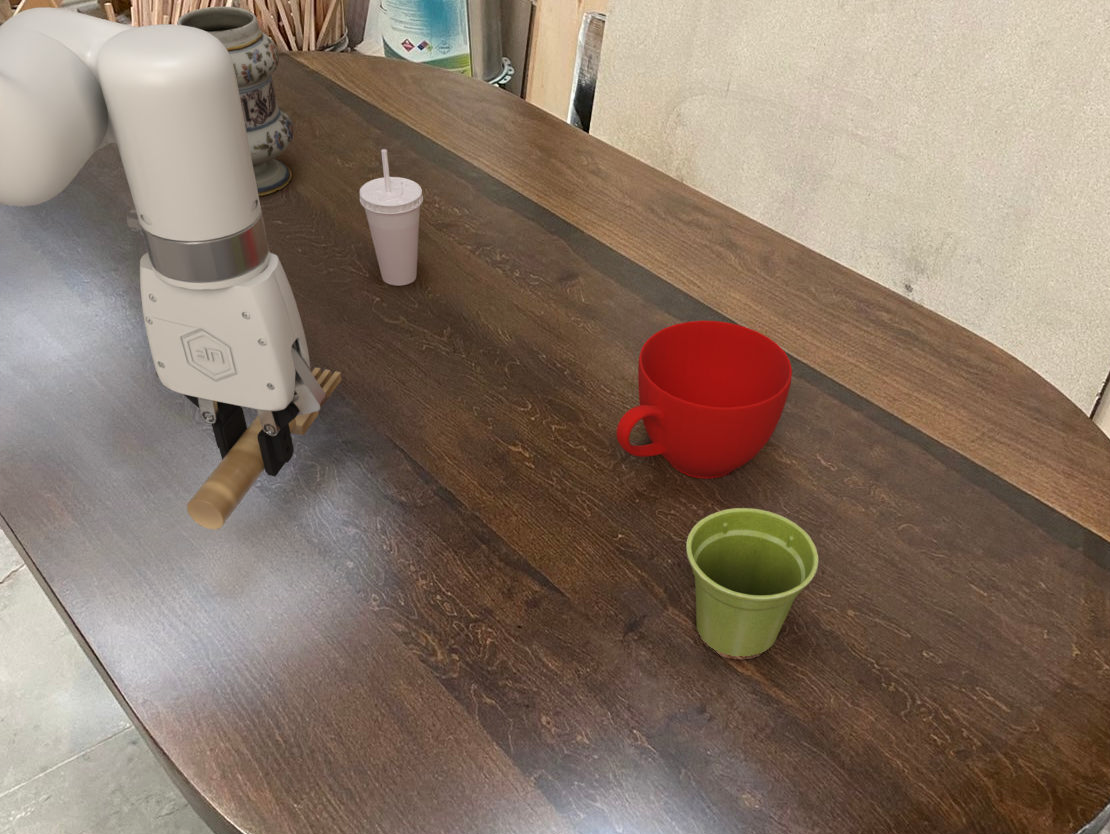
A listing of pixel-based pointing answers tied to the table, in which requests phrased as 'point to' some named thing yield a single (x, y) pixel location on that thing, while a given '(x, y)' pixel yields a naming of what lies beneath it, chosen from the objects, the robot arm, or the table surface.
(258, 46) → the apothecary jar
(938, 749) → the table surface
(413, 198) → the smoothie
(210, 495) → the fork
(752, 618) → the plant pot
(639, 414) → the ceramic cup
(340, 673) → the table surface
